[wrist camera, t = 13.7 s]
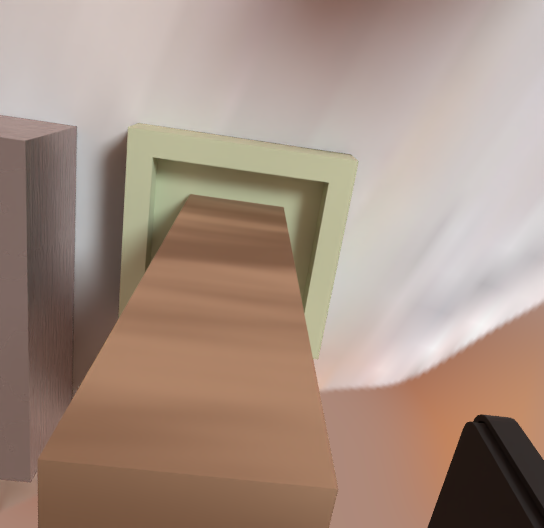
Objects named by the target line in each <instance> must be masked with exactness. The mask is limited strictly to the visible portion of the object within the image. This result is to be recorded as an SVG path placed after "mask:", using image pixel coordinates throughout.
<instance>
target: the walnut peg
mask: <svg viewBox="0 0 544 528" xmlns="http://www.w3.org/2000/svg"><path fill="white" fill-rule="evenodd" d="M337 492H338V486H337V480H336V475H335V470H334V465H333V460H332V454H331V449H330V444H329V439H328V434H327V429H326V423H325V418H324V413H323V408H322V403H321V398H320V392H319V387H318V382H317V377H316V372H315V367H314V361H313V356H312V351H311V346H310V341H309V336H308V330H307V325H306V320H305V315H304V310H303V305H302V299H301V294H300V289H299V284H298V279H297V274H296V268H295V263H294V258H293V253H292V248H291V243H290V237H289V232H288V227H287V222H286V217H285V212H284V207H280V206H273V205H266V204H259V203H251V202H244V201H237V200H230V199H223V198H216V197H209V196H201V195H194V194H190V195H189V197H188V199H187V201H186V202H185V204H184V206H183V208H182V209H181V211H180V213H179V215H178V216H177V218H176V220H175V221H174V223H173V225H172V227H171V228H170V230H169V232H168V234H167V235H166V237H165V239H164V241H163V242H162V244H161V246H160V248H159V249H158V251H157V253H156V255H155V256H154V258H153V260H152V261H151V263H150V265H149V267H148V268H147V270H146V272H145V274H144V275H143V277H142V279H141V281H140V282H139V284H138V286H137V288H136V289H135V291H134V293H133V294H132V296H131V298H130V300H129V301H128V303H127V305H126V307H125V308H124V310H123V312H122V314H121V315H120V317H119V319H118V321H117V322H116V324H115V326H114V328H113V329H112V331H111V333H110V334H109V336H108V338H107V340H106V341H105V343H104V345H103V347H102V348H101V350H100V352H99V354H98V355H97V357H96V359H95V361H94V362H93V364H92V366H91V367H90V369H89V371H88V373H87V374H86V376H85V378H84V380H83V381H82V383H81V385H80V387H79V388H78V390H77V392H76V394H75V395H74V397H73V399H72V401H71V402H70V404H69V406H68V407H67V409H66V411H65V413H64V414H63V416H62V418H61V420H60V421H59V423H58V425H57V427H56V428H55V430H54V432H53V434H52V435H51V437H50V439H49V440H48V442H47V444H46V446H45V447H44V449H43V451H42V453H41V454H40V456H39V458H38V528H329V525H330V520H331V516H332V513H333V509H334V504H335V500H336V496H337Z"/></svg>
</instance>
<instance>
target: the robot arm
mask: <svg viewBox="0 0 544 528" xmlns="http://www.w3.org/2000/svg"><path fill="white" fill-rule="evenodd" d="M428 528H544V460H543V459H542V457H541V456H540V454H539V453H538V451H537V450H536V449H535V447H534V446H533V444H532V443H531V441H530V440H529V439H528V437H527V436H526V434H525V433H524V431H523V430H522V428H521V427H520V426H519V424H518V423H517V422H516V421H515V420H514V419H512V418H508V417H499V416H490V415H478V416H477V417H476V418H475V419H474V421H473V422H467V423H466V424H465V426H464V428H463V431H462V433H461V436H460V439H459V442H458V445H457V447H456V450H455V453H454V456H453V459H452V461H451V464H450V467H449V470H448V472H447V475H446V478H445V481H444V484H443V487H442V489H441V492H440V495H439V498H438V500H437V503H436V506H435V509H434V511H433V514H432V517H431V520H430V522H429V525H428Z"/></svg>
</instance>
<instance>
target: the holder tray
mask: <svg viewBox="0 0 544 528" xmlns="http://www.w3.org/2000/svg"><path fill="white" fill-rule="evenodd" d="M358 162H359V161H358V160H356V159H355V158H354V157H353V156H352V155H350V154H343V153H336V152H329V151H323V150H316V149H309V148H302V147H296V146H289V145H282V144H276V143H269V142H262V141H255V140H249V139H242V138H235V137H228V136H222V135H215V134H208V133H201V132H195V131H188V130H181V129H175V128H168V127H161V126H154V125H148V124H141V123H138V124H135V125H132V126H130V127H128V138H127V158H126V177H125V197H124V216H123V236H122V255H121V275H120V295H119V314H118V319H119V317H120V315H121V314H122V312H123V310H124V308H125V307H126V305H127V303H128V301H129V300H130V298H131V296H132V294H133V293H134V291H135V289H136V288H137V286H138V284H139V282H140V281H141V279H142V277H143V275H144V274H145V272H146V270H147V268H148V267H149V265H150V263H151V261H152V260H153V258H154V256H155V255H156V253H157V251H158V249H159V248H160V246H161V244H162V242H163V241H164V239H165V237H166V235H167V234H168V232H169V230H170V228H171V227H172V225H173V223H174V221H175V220H176V218H177V216H178V215H179V213H180V211H181V209H182V208H183V206H184V204H185V202H186V201H187V199H188V197H189V195H190V194H194V195H201V196H209V197H216V198H223V199H230V200H237V201H244V202H251V203H259V204H266V205H273V206H280V207H284V212H285V217H286V222H287V227H288V232H289V237H290V243H291V248H292V253H293V258H294V263H295V268H296V274H297V279H298V284H299V289H300V294H301V299H302V305H303V310H304V315H305V320H306V325H307V330H308V336H309V341H310V346H311V351H312V356H313V359H318V357H319V352H320V347H321V343H322V338H323V333H324V328H325V323H326V318H327V313H328V308H329V303H330V299H331V294H332V289H333V284H334V279H335V274H336V269H337V264H338V259H339V255H340V250H341V245H342V240H343V235H344V230H345V225H346V220H347V215H348V210H349V206H350V201H351V196H352V191H353V186H354V181H355V176H356V171H357V166H358Z"/></svg>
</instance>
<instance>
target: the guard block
mask: <svg viewBox="0 0 544 528" xmlns="http://www.w3.org/2000/svg"><path fill="white" fill-rule="evenodd" d="M76 144H77V126H70V125H64V124H57V123H50V122H43V121H36V120H29V119H23V118H16V117H9V116H2V115H0V479H1V480H12V481H22V482H31V481H32V479H33V477H34V475H35V473H36V472H37V470H38V458H39V456H40V454H41V453H42V451H43V449H44V447H45V446H46V444H47V442H48V440H49V439H50V437H51V435H52V434H53V432H54V430H55V428H56V427H57V425H58V423H59V421H60V420H61V418H62V416H63V414H64V413H65V411H66V409H67V407H68V406H69V404H70V402H71V401H72V365H73V310H74V254H75V199H76Z"/></svg>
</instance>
